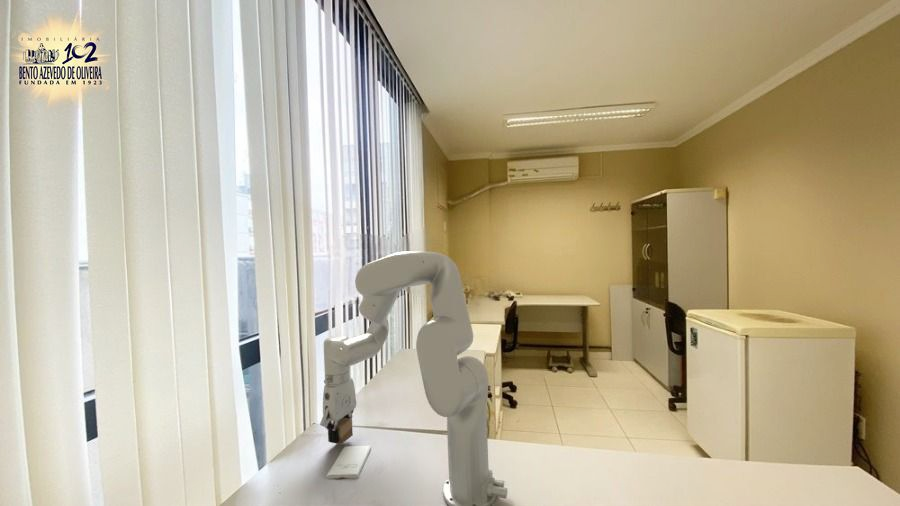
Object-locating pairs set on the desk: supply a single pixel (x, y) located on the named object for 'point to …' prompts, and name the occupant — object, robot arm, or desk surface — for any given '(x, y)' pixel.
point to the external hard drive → (349, 462)
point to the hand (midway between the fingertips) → (340, 436)
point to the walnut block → (343, 429)
